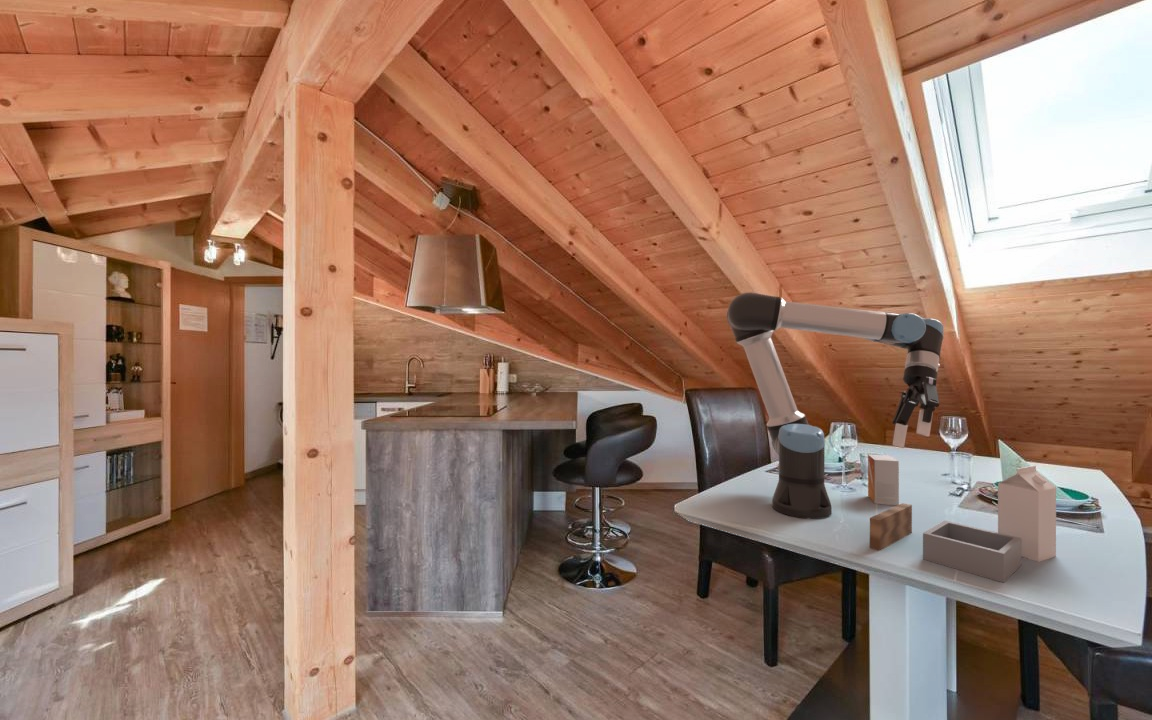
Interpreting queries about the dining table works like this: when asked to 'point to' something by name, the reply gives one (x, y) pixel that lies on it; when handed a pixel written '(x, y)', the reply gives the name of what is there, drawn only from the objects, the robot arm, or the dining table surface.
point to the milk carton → (1029, 512)
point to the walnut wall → (890, 526)
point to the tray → (973, 550)
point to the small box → (883, 479)
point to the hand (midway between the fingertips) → (909, 441)
